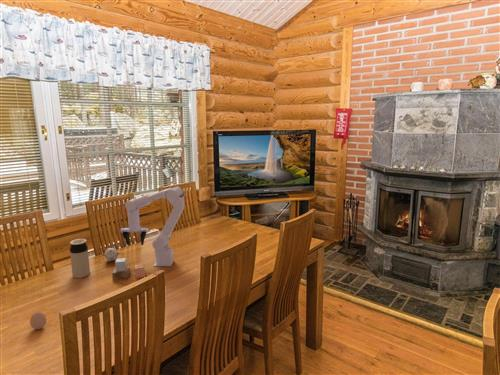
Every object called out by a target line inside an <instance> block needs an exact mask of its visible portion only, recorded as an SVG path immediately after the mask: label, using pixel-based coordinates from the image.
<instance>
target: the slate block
mask: <svg viewBox="0 0 500 375" xmlns="http://www.w3.org/2000/svg"><path fill="white" fill-rule="evenodd" d="M114 263H115V267H116V272H120V271H126V267H127V266H128V265H127V258H126V257H121V258H117V259H116V260H115V262H114Z"/></svg>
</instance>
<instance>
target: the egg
mask: <svg viewBox="0 0 500 375" xmlns="http://www.w3.org/2000/svg"><path fill="white" fill-rule="evenodd" d="M46 323H47V316H46V314H45V313H44V312H42V311H40V310H39V311H37V310H36V311H35V312H34V313H32V314H31V317H30V320H29V324H30V327H31V328H32V329H34V330H40V329H42V328H44V327H45V325H46Z"/></svg>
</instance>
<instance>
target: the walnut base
mask: <svg viewBox="0 0 500 375" xmlns="http://www.w3.org/2000/svg"><path fill="white" fill-rule="evenodd" d="M126 266H127V267H126V271H120V272H116V266H115V267H114V268H113V270H112V272H111V276H112V281H116V280H117V281H118V280H128V279H129V276H130V274H131V266H130V265H126Z"/></svg>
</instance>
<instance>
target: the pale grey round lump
mask: <svg viewBox="0 0 500 375" xmlns="http://www.w3.org/2000/svg"><path fill="white" fill-rule="evenodd" d="M105 248H106V249H105V252H104V254H103V255H102V256H104V258H105V260H106V263H108V262H112V261H113V262H114V261H115V262H116V259H118V256H119V255H120V252H118V250H117V246H115V247H109V248H108V247H105Z"/></svg>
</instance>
